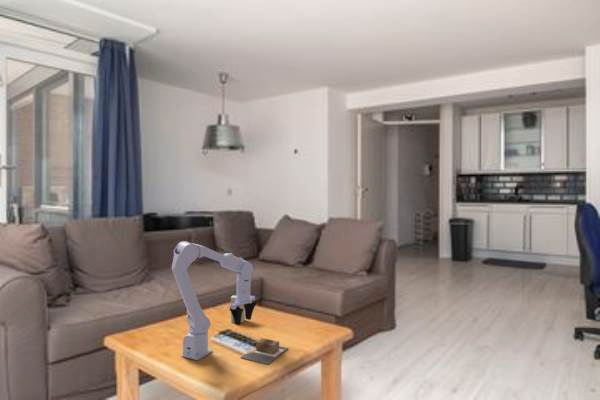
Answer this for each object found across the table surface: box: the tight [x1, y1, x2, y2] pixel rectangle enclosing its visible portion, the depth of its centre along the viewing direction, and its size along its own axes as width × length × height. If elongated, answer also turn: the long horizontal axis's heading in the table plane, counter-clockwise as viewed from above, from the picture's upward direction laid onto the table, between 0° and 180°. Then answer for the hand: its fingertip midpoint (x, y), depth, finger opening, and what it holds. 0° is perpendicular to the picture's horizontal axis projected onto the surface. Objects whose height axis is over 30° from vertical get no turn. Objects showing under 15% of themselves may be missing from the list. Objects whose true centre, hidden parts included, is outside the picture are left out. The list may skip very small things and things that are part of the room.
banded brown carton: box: [255, 337, 280, 355], centre depth 161 cm, size 8×4×4 cm, turn 64°
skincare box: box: [230, 295, 246, 324], centre depth 196 cm, size 6×4×12 cm
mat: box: [240, 345, 289, 366], centre depth 159 cm, size 16×12×1 cm
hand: (243, 321), depth 169 cm, fingers open, 7 cm apart
